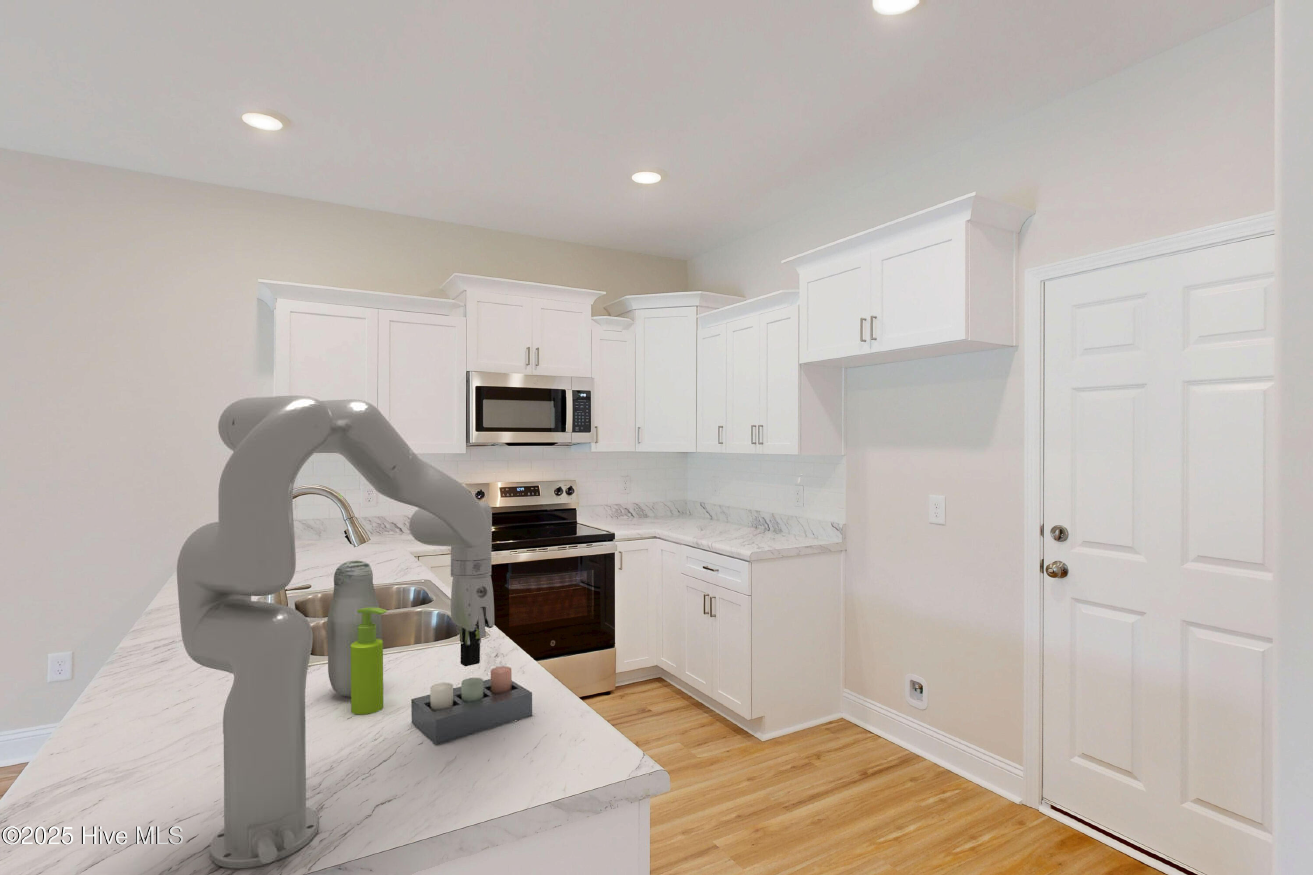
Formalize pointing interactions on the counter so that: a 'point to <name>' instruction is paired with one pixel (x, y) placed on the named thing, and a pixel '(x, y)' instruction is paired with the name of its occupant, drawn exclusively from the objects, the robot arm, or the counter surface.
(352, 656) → the soap dispenser
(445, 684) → the cream rounded cylinder
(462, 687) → the green piece
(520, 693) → the gray socket block
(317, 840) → the counter surface
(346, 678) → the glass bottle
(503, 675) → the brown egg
